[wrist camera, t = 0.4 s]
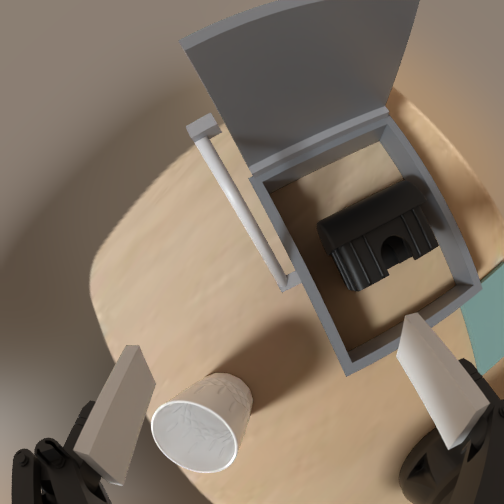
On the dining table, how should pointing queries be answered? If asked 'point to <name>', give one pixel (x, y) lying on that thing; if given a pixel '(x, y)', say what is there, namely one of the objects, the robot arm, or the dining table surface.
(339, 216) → the end cap
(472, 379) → the robot arm
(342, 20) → the case
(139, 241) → the dining table surface
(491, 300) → the rubber pad
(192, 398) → the white cup
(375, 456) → the dining table surface
